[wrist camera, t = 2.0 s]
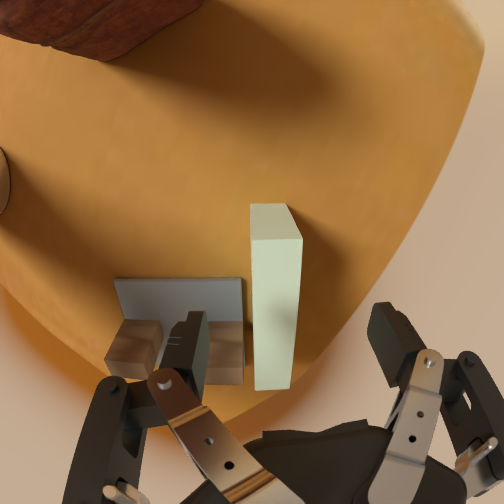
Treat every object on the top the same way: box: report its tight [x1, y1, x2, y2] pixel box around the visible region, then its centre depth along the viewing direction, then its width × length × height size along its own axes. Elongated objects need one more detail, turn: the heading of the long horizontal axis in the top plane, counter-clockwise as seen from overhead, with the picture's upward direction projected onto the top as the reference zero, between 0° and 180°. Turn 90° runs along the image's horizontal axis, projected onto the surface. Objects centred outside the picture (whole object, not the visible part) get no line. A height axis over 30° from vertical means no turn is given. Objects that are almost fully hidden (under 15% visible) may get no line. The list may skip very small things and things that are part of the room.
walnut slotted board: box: [104, 319, 244, 385], centre depth 25 cm, size 13×2×6 cm, turn 91°
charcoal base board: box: [113, 277, 245, 367], centre depth 28 cm, size 13×12×1 cm
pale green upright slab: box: [250, 203, 303, 390], centre depth 23 cm, size 3×14×8 cm, turn 1°
